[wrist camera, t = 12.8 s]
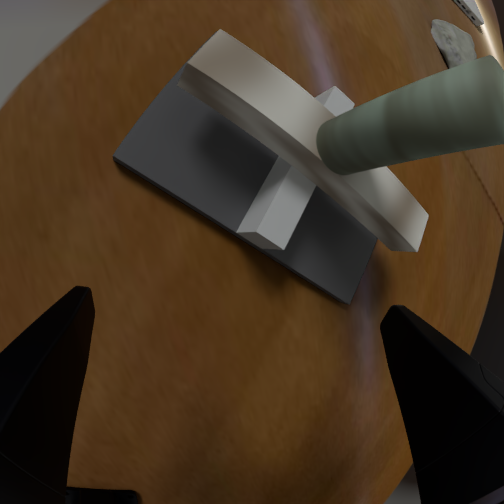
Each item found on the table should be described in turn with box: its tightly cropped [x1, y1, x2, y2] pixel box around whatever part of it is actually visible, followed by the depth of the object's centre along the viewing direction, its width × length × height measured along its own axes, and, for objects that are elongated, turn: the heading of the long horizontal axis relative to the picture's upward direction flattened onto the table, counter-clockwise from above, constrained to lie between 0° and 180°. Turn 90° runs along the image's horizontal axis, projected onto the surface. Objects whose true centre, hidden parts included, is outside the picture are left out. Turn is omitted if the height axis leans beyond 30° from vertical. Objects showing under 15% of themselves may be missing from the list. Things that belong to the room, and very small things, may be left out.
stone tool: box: [431, 20, 477, 69], centre depth 34 cm, size 15×4×20 cm
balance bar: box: [177, 29, 504, 252], centre depth 12 cm, size 18×3×12 cm, turn 60°
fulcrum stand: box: [113, 31, 377, 305], centre depth 20 cm, size 12×20×4 cm, turn 60°
